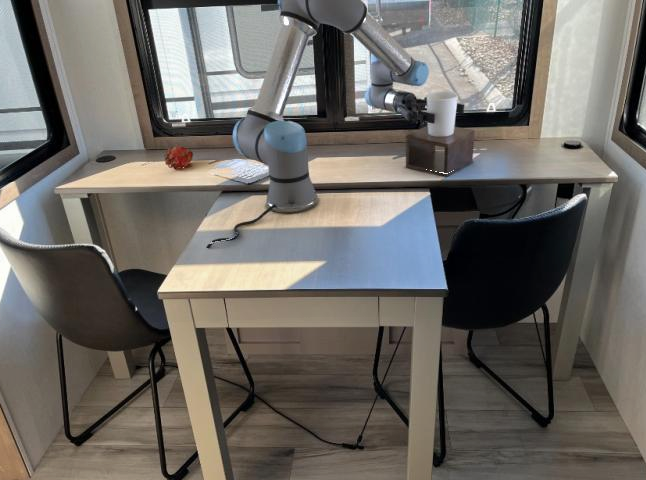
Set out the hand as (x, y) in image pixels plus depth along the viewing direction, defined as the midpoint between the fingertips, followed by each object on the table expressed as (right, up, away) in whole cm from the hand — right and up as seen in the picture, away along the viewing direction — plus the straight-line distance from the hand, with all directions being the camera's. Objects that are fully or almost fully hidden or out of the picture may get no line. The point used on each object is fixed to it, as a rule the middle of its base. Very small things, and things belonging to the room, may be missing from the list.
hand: (448, 114), depth 186 cm
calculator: (-68, -15, +16) cm, 71 cm away
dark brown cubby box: (-1, -13, +12) cm, 18 cm away
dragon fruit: (-91, -11, +25) cm, 95 cm away
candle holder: (-1, -4, +6) cm, 8 cm away
